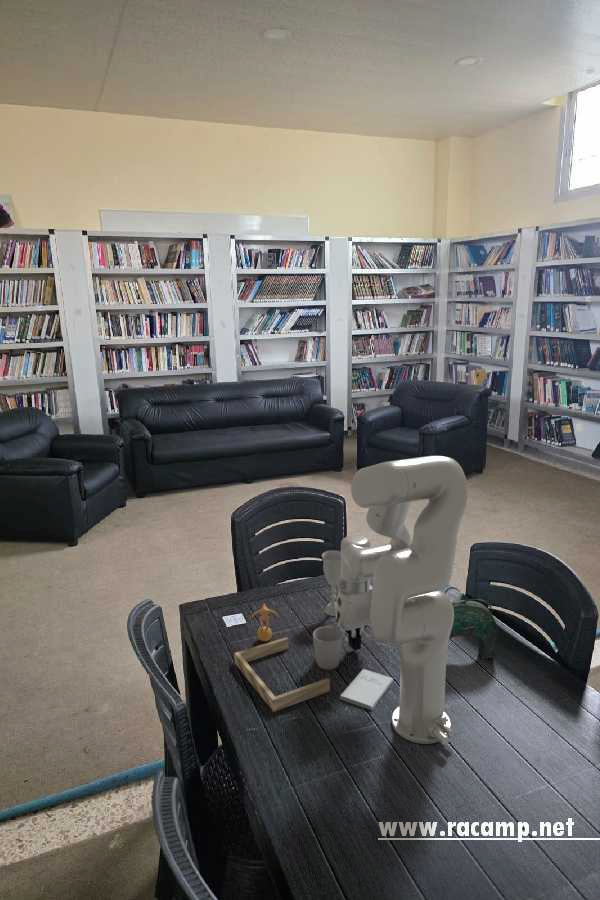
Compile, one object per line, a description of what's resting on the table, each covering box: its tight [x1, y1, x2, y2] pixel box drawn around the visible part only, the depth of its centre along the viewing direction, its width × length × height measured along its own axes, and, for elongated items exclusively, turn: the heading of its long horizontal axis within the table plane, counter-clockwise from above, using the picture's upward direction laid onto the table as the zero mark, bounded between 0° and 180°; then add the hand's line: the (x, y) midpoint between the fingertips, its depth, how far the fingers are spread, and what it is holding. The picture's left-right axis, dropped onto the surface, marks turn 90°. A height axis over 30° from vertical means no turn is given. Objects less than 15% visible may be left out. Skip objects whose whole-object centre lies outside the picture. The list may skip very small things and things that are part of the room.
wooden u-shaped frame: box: [234, 636, 331, 713], centre depth 153 cm, size 22×15×3 cm
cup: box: [312, 625, 344, 671], centre depth 159 cm, size 8×10×8 cm
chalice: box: [321, 549, 341, 617], centre depth 182 cm, size 7×7×18 cm
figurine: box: [248, 603, 281, 643], centre depth 167 cm, size 8×6×12 cm
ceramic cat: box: [444, 586, 499, 659], centre depth 158 cm, size 20×6×20 cm, turn 92°
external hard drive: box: [339, 668, 394, 711], centre depth 148 cm, size 2×8×12 cm
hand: (354, 647), depth 163 cm, fingers closed
